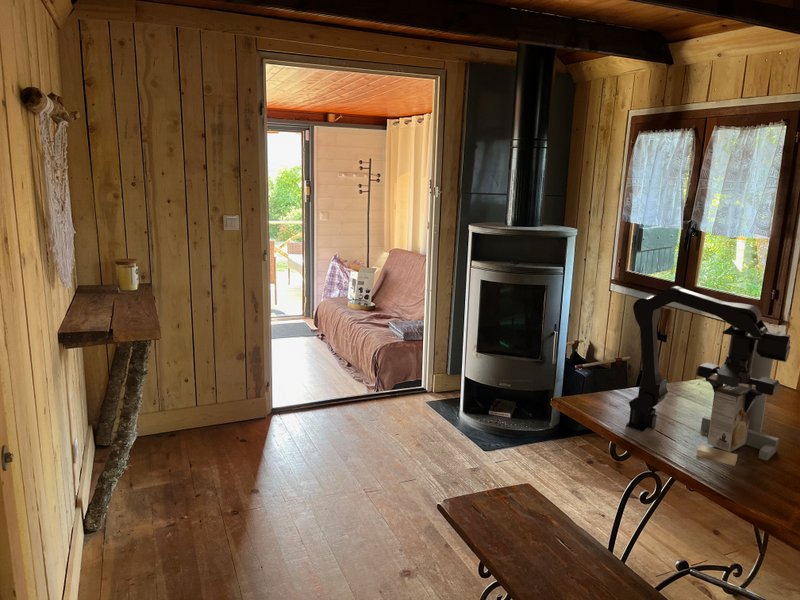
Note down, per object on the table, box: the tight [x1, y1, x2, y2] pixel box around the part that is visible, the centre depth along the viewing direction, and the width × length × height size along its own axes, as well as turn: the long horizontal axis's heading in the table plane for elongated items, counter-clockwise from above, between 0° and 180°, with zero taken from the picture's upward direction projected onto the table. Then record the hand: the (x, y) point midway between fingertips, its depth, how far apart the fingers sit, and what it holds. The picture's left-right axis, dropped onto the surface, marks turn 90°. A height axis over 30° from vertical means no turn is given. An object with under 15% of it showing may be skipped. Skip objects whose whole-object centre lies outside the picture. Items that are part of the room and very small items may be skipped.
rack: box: [700, 415, 780, 462], centre depth 162 cm, size 19×8×5 cm, turn 42°
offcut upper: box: [696, 444, 739, 467], centre depth 153 cm, size 9×4×2 cm, turn 54°
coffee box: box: [707, 384, 752, 453], centre depth 157 cm, size 9×6×16 cm
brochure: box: [737, 328, 774, 433], centre depth 174 cm, size 14×6×30 cm, turn 168°
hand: (731, 408), depth 157 cm, fingers closed on coffee box, 6 cm apart
